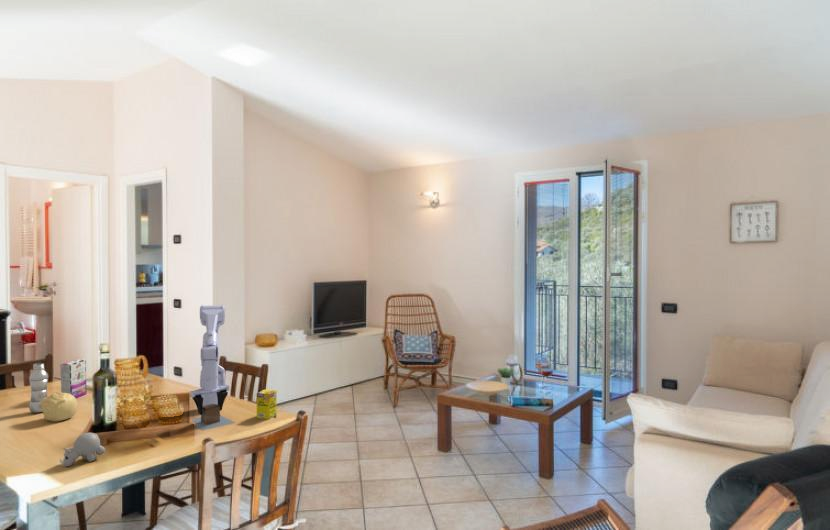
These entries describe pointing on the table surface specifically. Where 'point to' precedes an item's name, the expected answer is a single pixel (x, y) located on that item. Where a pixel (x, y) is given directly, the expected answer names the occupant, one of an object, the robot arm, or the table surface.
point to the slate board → (204, 427)
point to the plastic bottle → (38, 387)
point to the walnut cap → (210, 414)
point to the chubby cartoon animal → (83, 449)
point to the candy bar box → (74, 377)
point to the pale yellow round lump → (59, 406)
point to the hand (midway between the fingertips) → (210, 412)
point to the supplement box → (266, 404)
